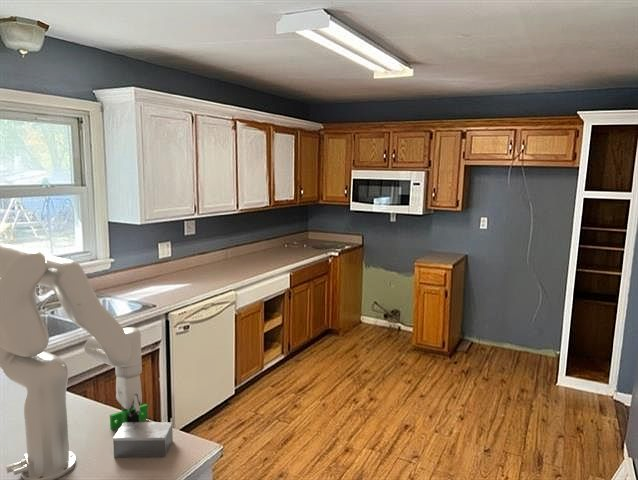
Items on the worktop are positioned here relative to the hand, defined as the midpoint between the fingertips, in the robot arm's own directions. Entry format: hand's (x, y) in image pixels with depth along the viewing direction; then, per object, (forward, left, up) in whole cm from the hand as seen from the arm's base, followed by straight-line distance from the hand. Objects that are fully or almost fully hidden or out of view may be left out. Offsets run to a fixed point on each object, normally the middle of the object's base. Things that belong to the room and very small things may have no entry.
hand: (130, 423), depth 146 cm
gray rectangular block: (-2, -15, -1) cm, 15 cm away
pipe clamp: (0, 0, -1) cm, 1 cm away
